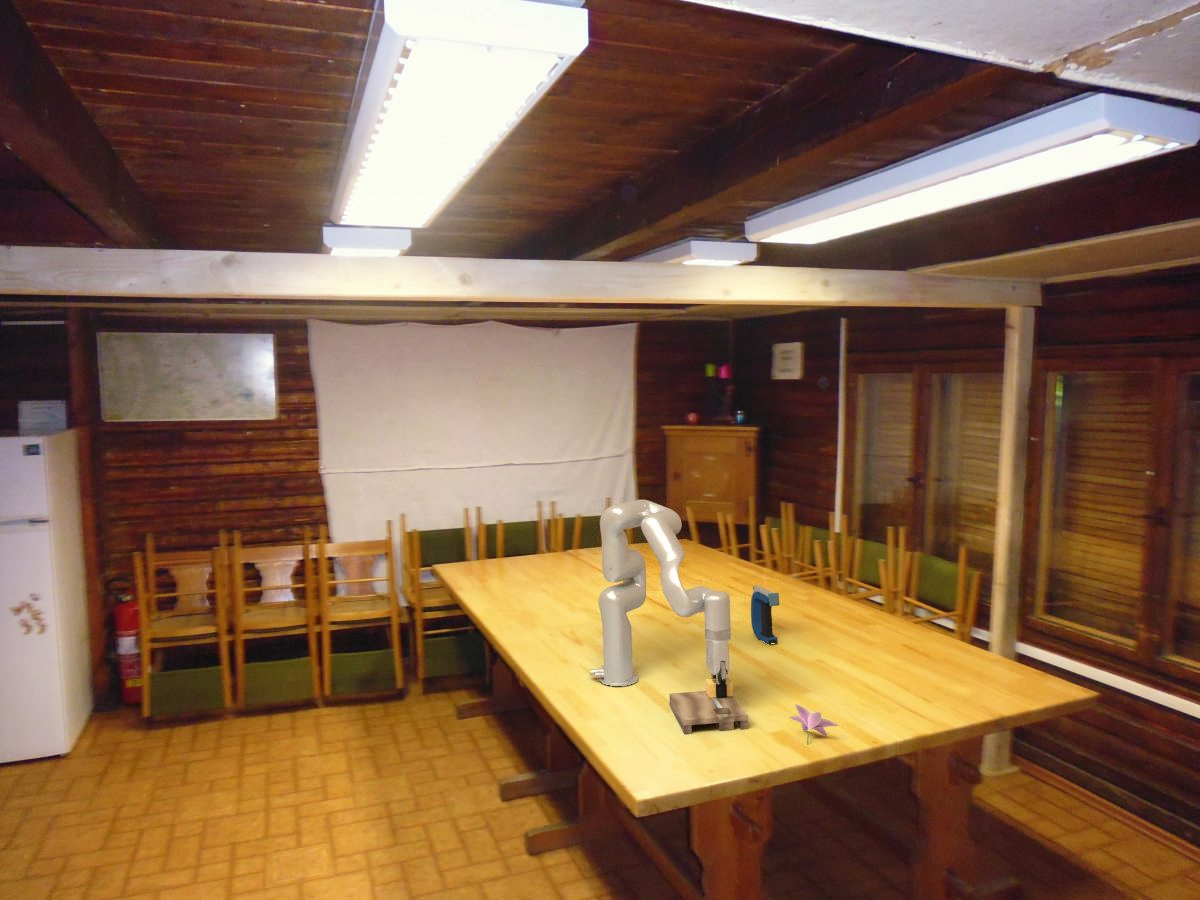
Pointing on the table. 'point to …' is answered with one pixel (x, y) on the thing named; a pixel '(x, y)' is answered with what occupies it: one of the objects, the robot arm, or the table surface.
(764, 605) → the handheld scanner
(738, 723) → the board
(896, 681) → the table surface
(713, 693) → the block
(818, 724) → the lily
